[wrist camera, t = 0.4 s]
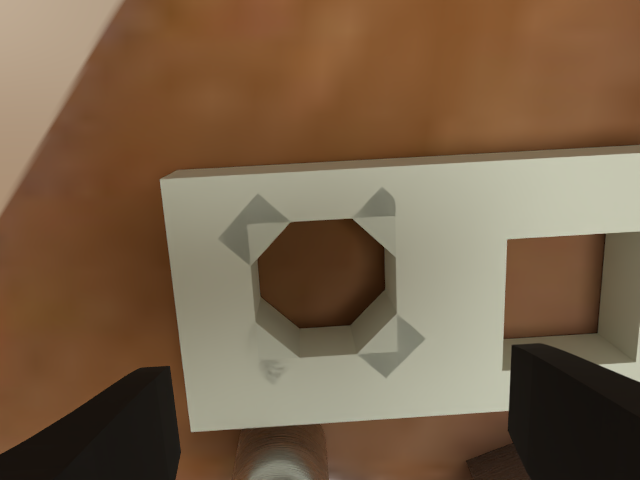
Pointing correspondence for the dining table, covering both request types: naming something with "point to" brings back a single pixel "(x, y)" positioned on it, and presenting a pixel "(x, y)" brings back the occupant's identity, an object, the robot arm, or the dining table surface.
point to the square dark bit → (498, 465)
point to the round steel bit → (282, 453)
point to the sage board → (390, 281)
